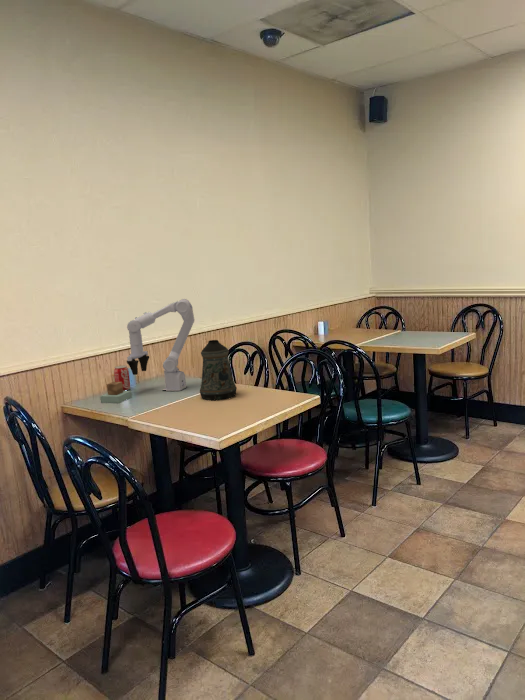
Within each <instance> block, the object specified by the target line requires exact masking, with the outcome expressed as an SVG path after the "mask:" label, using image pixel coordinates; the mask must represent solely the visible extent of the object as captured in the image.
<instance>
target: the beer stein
mask: <svg viewBox="0 0 525 700" xmlns="http://www.w3.org/2000/svg"><path fill="white" fill-rule="evenodd" d="M229 352H230V350H229V349H228V348H227V347H226V346H225V345H223V344H222V343H221V342H219V340H218V339H211V340H208V342H207V344H206V345H205V347H203V349H202V350H201V352H200V355H201V357H202V371H201V372H202V373H201V383H200V388H199V393H200V398H201V400H204V401H208V400H211V401H212V402H213V401H214V402H215V401H216V400H217V401H224V400H230V399H232V398H234V397H236V395H237V390H238V388H237V386H236V384H235V380H234V378H233V374H232V370H231V365H230V361H229V357H228V355H229ZM229 398H230V399H229ZM217 401H216V402H217Z"/></svg>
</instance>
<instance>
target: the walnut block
mask: <svg viewBox="0 0 525 700" xmlns="http://www.w3.org/2000/svg"><path fill="white" fill-rule="evenodd" d="M106 391H107V393H108V395H118V394H121V393H123V385H122V382H115V381H111V382H108V383H107V384H106Z"/></svg>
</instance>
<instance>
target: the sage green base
mask: <svg viewBox="0 0 525 700" xmlns="http://www.w3.org/2000/svg"><path fill="white" fill-rule="evenodd" d="M132 395H133V394H132V391H131V390H128V391H123V393H121V394H118V395H108V392H107V393H104V394H102V395H100V397H99V398H100V403H103V404H105V403H106V404H107V403H108V404H120V403H123V402H125V401H126V399H127V400H129V399H131V398H133V396H132ZM124 400H125V401H124ZM122 401H123V402H122Z"/></svg>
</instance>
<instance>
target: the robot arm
mask: <svg viewBox="0 0 525 700" xmlns="http://www.w3.org/2000/svg"><path fill="white" fill-rule="evenodd" d="M176 312H177V313H178V314H179V315H180V317H181V318H182V321H183V323H182V324H181V327H180V330H179V332H178V333H177V336H176V339H175V341H174V343H173V345H172V347H171V350H170V352H169V355H168V356H167V357H166V359H165V360H164V361H163V362H162V363H163V364H162V367H163V374H164V375H163V376H164V384H165V385H164V386H165V388H163V389H162V390H166V391H165V392H167V391H168V392H171V391H173V392H180V391H182V390H184V389H185V388H187V387H188V385H187V382H186V374H185V372H184V371H183V370H180V368H179V367H178V365H179V358H180V355H181V352H182V351H183V348H184V346H185V343H186V341H187V339H188V336H189V334H190V332H191V331H192V327H193V325H194V323H195V316H194V315H195V314H194V309H193V306H192V304H191V302H190V300H188V299H187V298H181V299H180V300H176V301H174V302H173V301H172V302H171V303H168V304H167V305H165V306H163V307H161V308H160V309H157V310H156V311H154V312H150V311H148V312H147V311H145V312H143V314H142V315H139V316H138V317H137V316H136V317H135V318H134V319H132V320H130V321H129V322H128V323H127V324H126V325H127V326H126V328H127V331H128V334H129V335H128V337H129V345H130V352H131V353H130V354H129V355H128V356H127V357H126V358H127V360H126V364H127V365H128V367H130V370H131V373H132V375H133V376H134V375H135V376H136V375H139V374H138V371H139V370H138V366H139V364H140V370H141V372H147V367H148V362H149V359H150V355H149V353H148V351H147V350H145V351H144V347H143V346H144V345H143V338H142V336H143V335H142V331H141V330H142V329H145V328H148V326H151V325H152V324H154V323H155V322H156V319H158V318H160V317H162V316H164V315H166V314H168V313H176Z"/></svg>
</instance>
